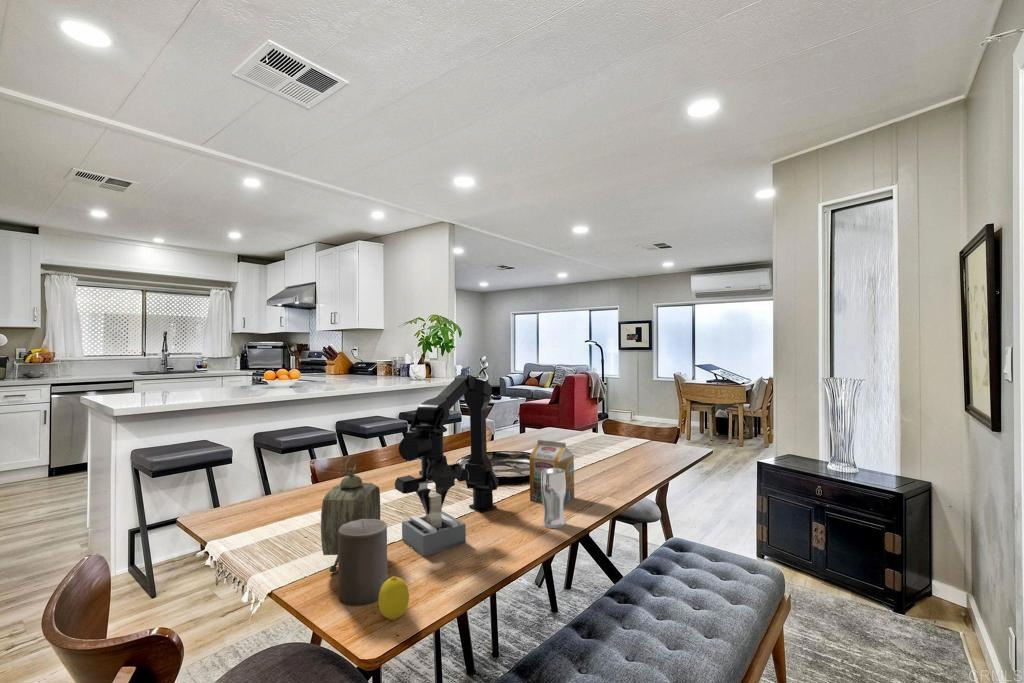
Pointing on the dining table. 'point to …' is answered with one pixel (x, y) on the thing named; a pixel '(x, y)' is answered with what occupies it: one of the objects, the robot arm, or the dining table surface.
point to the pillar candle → (362, 561)
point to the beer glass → (553, 496)
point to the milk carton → (550, 457)
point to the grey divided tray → (433, 534)
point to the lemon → (393, 598)
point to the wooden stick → (434, 510)
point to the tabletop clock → (346, 508)
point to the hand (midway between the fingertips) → (433, 512)
